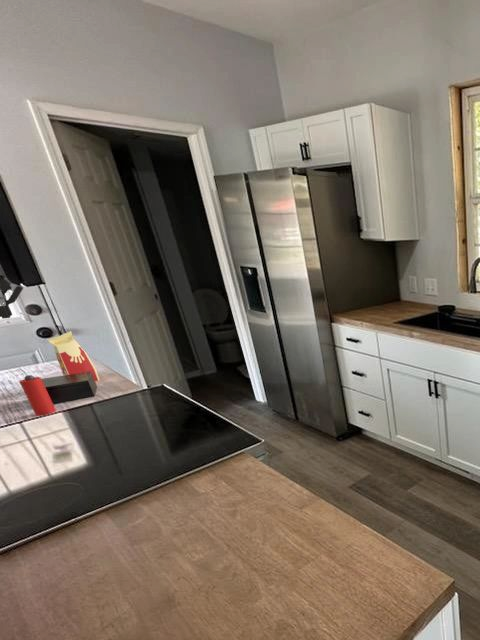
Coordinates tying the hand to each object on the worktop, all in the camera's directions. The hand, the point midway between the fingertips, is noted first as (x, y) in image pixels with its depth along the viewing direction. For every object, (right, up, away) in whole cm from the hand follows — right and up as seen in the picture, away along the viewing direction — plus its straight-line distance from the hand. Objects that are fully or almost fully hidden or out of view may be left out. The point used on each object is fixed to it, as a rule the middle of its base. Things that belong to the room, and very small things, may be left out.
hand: (6, 317), depth 130 cm
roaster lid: (+6, -20, +10) cm, 24 cm away
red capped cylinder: (+14, -31, -1) cm, 34 cm away
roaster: (+7, -26, +12) cm, 30 cm away
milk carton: (-4, -21, +27) cm, 35 cm away
